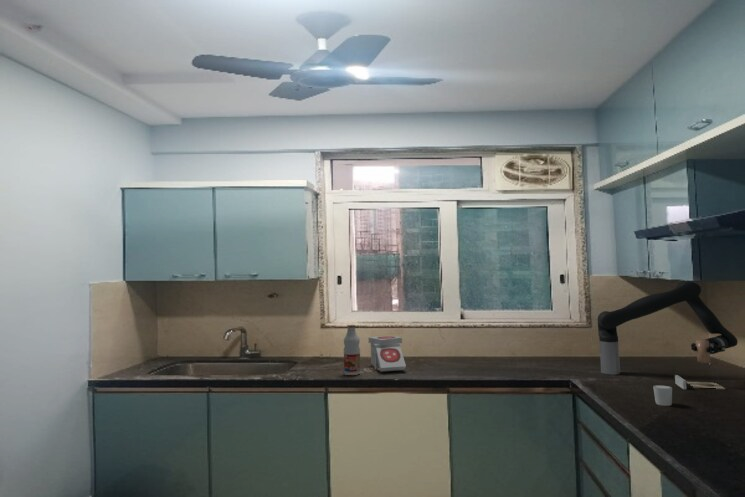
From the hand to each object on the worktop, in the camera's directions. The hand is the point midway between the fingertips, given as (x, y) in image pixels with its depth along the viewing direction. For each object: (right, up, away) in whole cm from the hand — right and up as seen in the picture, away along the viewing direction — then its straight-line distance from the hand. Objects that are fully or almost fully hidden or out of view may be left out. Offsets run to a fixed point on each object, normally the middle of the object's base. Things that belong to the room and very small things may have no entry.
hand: (701, 349), depth 226 cm
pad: (+2, -17, +1) cm, 18 cm away
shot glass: (-34, -17, -27) cm, 47 cm away
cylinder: (+2, -6, +1) cm, 7 cm away
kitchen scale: (-146, -25, +61) cm, 160 cm away
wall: (-9, -18, +1) cm, 20 cm away
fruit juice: (-167, -25, +48) cm, 175 cm away
